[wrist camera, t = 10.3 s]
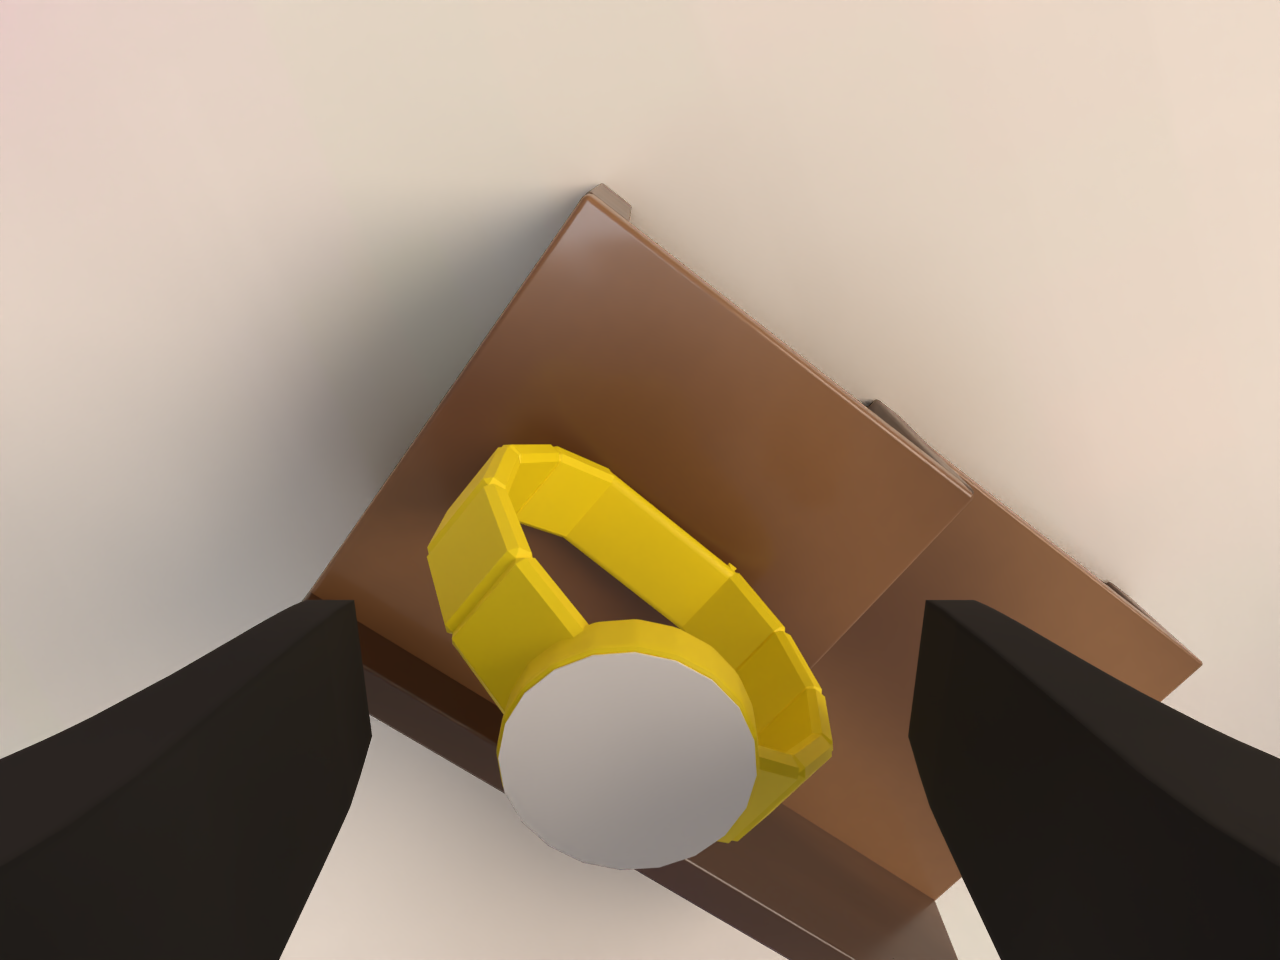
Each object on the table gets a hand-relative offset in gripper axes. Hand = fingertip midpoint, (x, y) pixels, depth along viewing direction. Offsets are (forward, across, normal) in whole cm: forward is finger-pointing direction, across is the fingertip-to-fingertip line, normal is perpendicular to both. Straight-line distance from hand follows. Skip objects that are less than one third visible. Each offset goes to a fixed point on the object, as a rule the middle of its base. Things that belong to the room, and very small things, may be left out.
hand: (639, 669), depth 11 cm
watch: (+4, 0, 0) cm, 4 cm away
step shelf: (+9, -3, +3) cm, 10 cm away
